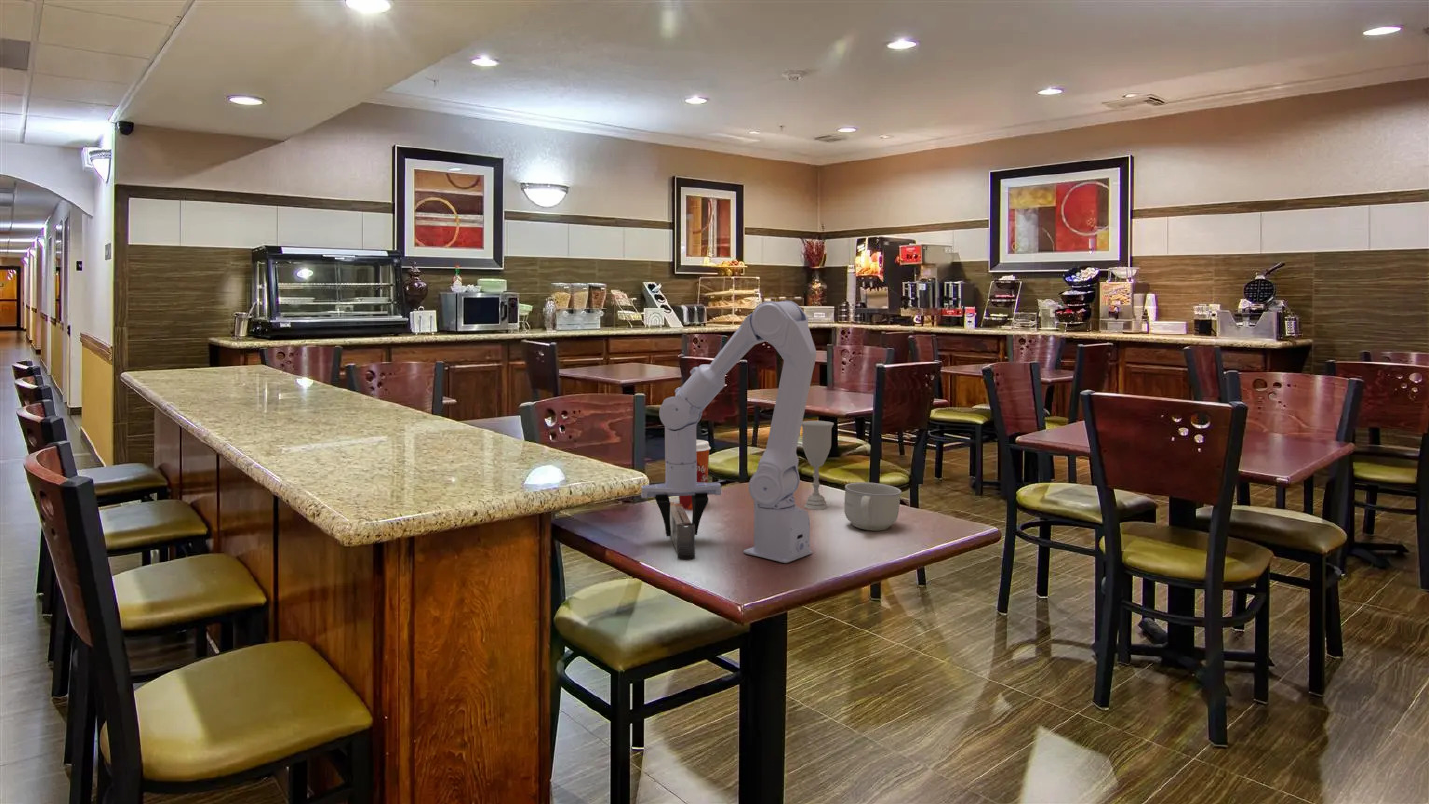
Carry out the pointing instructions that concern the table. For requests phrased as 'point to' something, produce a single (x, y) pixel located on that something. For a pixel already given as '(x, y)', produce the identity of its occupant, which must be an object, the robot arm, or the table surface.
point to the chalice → (816, 455)
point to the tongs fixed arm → (685, 536)
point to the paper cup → (698, 470)
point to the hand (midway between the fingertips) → (681, 534)
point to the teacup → (871, 505)
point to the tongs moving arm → (674, 524)
